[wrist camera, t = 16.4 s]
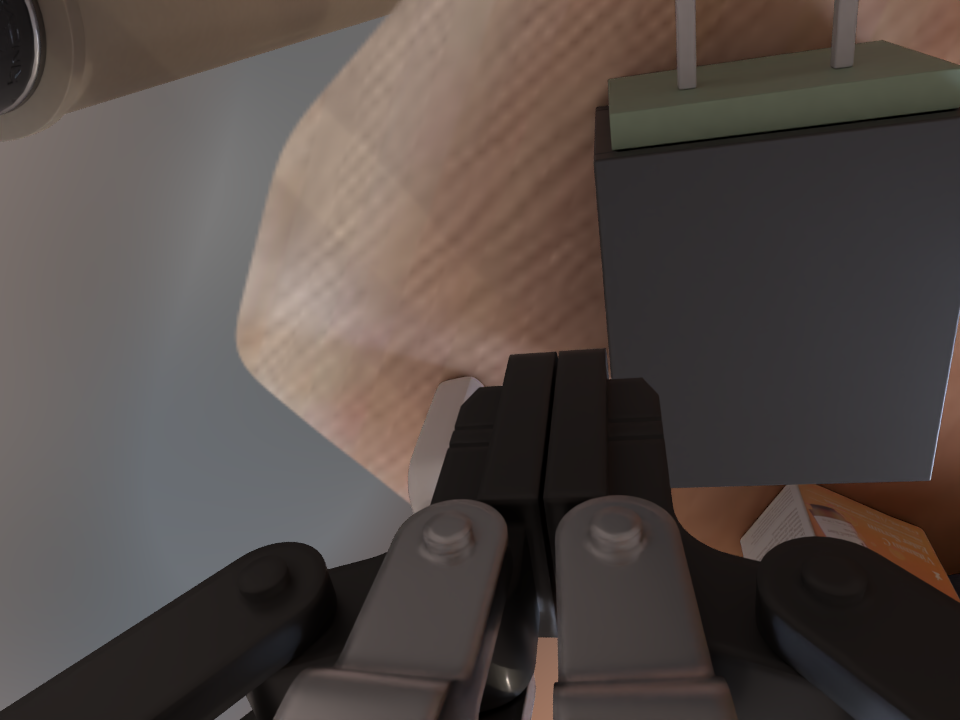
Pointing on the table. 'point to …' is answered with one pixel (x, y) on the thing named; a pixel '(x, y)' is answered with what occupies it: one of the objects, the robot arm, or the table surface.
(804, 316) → the cabinet
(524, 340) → the table surface
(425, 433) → the eye dropper bottle
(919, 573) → the small box
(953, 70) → the drawer
